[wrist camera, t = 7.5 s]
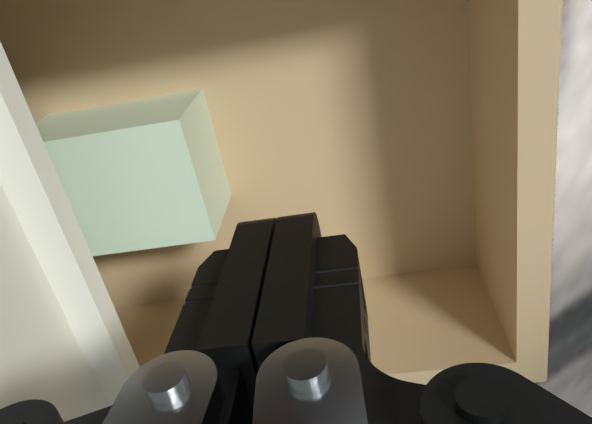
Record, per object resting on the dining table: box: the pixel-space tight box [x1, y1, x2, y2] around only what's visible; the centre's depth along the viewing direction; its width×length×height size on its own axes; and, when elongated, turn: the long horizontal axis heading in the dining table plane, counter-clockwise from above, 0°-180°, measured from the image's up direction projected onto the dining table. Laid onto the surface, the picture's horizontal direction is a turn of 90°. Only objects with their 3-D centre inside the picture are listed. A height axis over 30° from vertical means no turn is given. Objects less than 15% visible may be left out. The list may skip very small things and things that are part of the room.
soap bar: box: [36, 88, 231, 256], centre depth 16 cm, size 5×4×3 cm
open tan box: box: [0, 0, 563, 385], centre depth 15 cm, size 18×13×5 cm
